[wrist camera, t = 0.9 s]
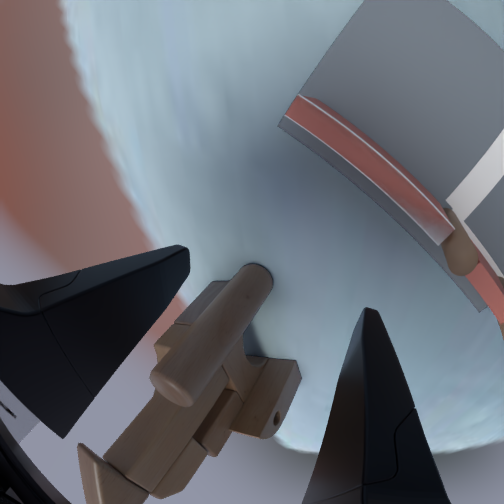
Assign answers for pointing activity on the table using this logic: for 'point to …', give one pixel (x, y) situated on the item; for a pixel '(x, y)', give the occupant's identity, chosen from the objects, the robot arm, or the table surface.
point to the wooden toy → (196, 397)
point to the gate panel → (372, 164)
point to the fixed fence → (474, 267)
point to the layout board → (422, 114)
